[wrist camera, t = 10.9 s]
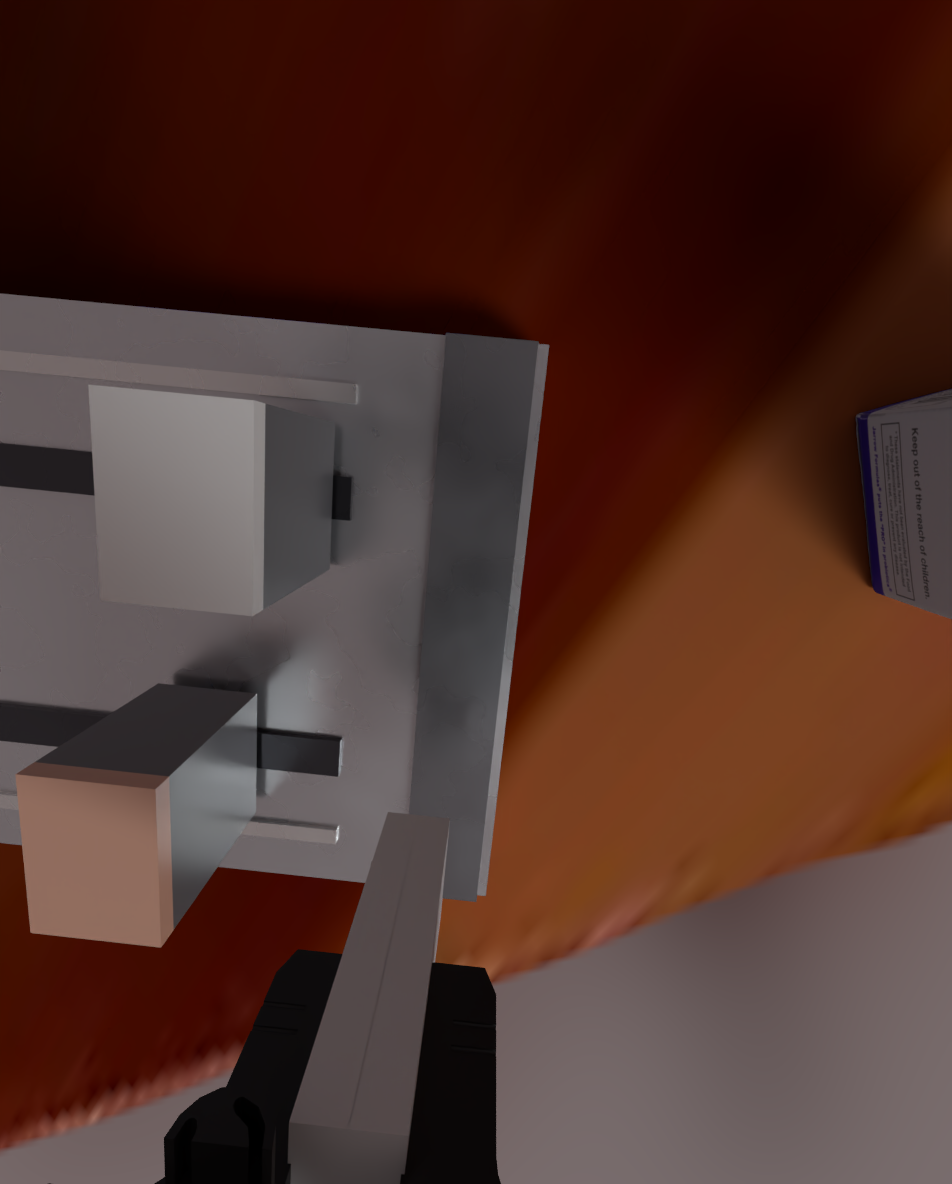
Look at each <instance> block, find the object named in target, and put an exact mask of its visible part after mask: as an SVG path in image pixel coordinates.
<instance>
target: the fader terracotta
mask: <svg viewBox="0 0 952 1184" xmlns="http://www.w3.org/2000/svg"><path fill="white" fill-rule="evenodd" d="M256 767H257V694H256V693H247V692H237V691H227V690H218V689H208V688H199V687H189V686H180V685H170V684H161V683H158V684H156V685H155V686H153V687H152V688H150V689H149V690H147V691H145V692H144V693H142V694H141V695H139V696H138V697H136V698H134V699H133V700H131V701H130V702H128V703H127V704H125V705H123V706H122V707H120V708H119V709H117V710H116V711H114V712H112V713H111V714H109V715H108V716H106V717H105V718H103V719H101V720H100V721H98V722H97V723H95V724H94V725H92V726H90V727H89V728H87V729H86V730H84V731H83V732H81V733H79V734H78V735H76V736H75V737H73V738H72V739H70V740H68V741H67V742H65V743H64V744H62V745H61V746H59V747H57V748H56V749H54V750H53V751H51V752H50V753H48V754H46V755H45V756H43V757H42V758H40V759H39V760H37V761H35V762H34V763H32V764H31V765H29V766H28V767H26V768H24V769H23V770H21V771H20V772H18V773H17V774H15V775H16V786H17V796H18V806H19V817H20V827H21V838H22V848H23V858H24V869H25V879H26V889H27V900H28V910H29V920H30V931H31V933H37V934H46V935H54V936H63V937H72V938H81V939H90V940H99V941H108V942H117V943H126V944H135V945H144V946H153V947H162V945H163V944H164V943H165V941H166V940H167V938H168V937H169V935H170V934H171V933H172V931H173V930H174V928H175V927H176V925H177V924H178V923H179V921H180V920H181V918H182V917H183V915H184V914H185V913H186V911H187V910H188V908H189V907H190V905H191V904H192V903H193V901H194V900H195V898H196V897H197V895H198V894H199V893H200V891H201V890H202V888H203V887H204V885H205V884H206V883H207V881H208V880H209V878H210V877H211V876H212V874H213V873H214V871H215V870H216V868H217V867H218V866H219V864H220V863H221V861H222V860H223V858H224V857H225V856H226V854H227V853H228V851H229V850H230V848H231V847H232V846H233V844H234V843H235V841H236V840H237V838H238V837H239V836H240V834H241V833H242V831H243V830H244V828H245V827H246V826H247V824H248V823H249V821H250V820H251V818H252V817H253V816H254V814H255V813H256Z"/></svg>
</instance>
